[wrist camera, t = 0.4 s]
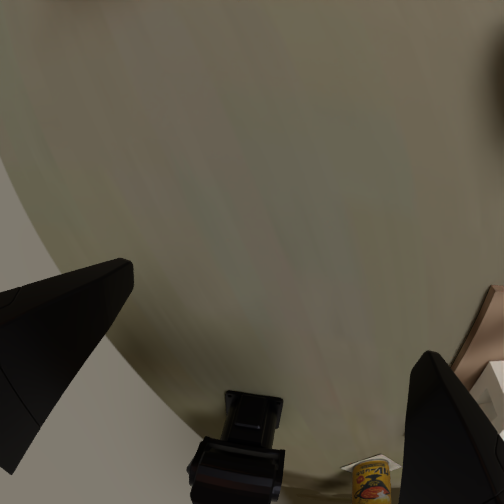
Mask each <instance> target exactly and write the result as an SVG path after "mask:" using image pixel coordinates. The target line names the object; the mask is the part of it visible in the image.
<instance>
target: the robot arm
mask: <svg viewBox="0 0 504 504" xmlns="http://www.w3.org/2000/svg"><path fill="white" fill-rule="evenodd" d="M133 287H134V272H133V263H132V262H131V261H129V260H126V259H123V258H117V259H114V260H110V261H106V262H103V263H99V264H96V265H92V266H89V267H85V268H82V269H78V270H75V271H71V272H68V273H64V274H61V275H57V276H54V277H51V278H47V279H44V280H41V281H37V282H34V283H31V284H27V285H24V286H22V287H17V288H14V289H11V290H7V291H4V292H1V293H0V467H1V468H3V469H4V470H5V471H6V472H8V473H9V474H10V475H12V474H13V473H14V471H15V470H16V468H17V466H18V464H19V463H20V461H21V459H22V458H23V456H24V454H25V453H26V451H27V449H28V448H29V446H30V444H31V443H32V441H33V440H34V438H35V436H36V435H37V433H38V432H39V430H40V428H41V426H42V425H43V423H44V422H45V420H46V419H47V417H48V416H49V414H50V412H51V411H52V409H53V408H54V406H55V405H56V403H57V402H58V400H59V399H60V397H61V396H62V394H63V393H64V391H65V390H66V389H67V387H68V386H69V384H70V383H71V381H72V380H73V378H74V377H75V375H76V374H77V373H78V371H79V370H80V368H81V367H82V365H83V364H84V362H85V361H86V360H87V358H88V357H89V356H90V354H91V353H92V351H93V350H94V349H95V347H96V346H97V345H98V343H99V342H100V341H101V339H102V338H103V336H104V335H105V334H106V332H107V331H108V330H109V328H110V327H111V325H112V323H113V322H114V320H115V318H116V317H117V315H118V313H119V312H120V310H121V308H122V307H123V305H124V303H125V302H126V300H127V298H128V297H129V295H130V294H131V292H132V290H133ZM225 397H226V413H227V418H226V421H225V425H224V428H223V432H222V435H221V438H220V440H218V439H213V438H210V437H208V436H205V438H204V440H203V441H202V442H200V444H199V447H198V450H197V452H196V454H195V456H194V458H193V459H192V461H191V462H190V464H189V465H188V467H187V472H188V474H189V484H190V486H192V489H191V493H190V497H191V500H192V503H193V504H270V503H271V501H273V502H277V500H278V497H279V493H280V489H281V484H282V477H283V468H284V458H285V450H282V449H280V450H276V449H272V445H273V439H274V433H275V429H277V428H278V427H279V422H280V417H281V412H282V407H283V399H281V398H275V397H267V396H260V395H253V394H246V393H240V392H234V391H227V392H226V395H225ZM398 504H504V441H503V439H502V437H501V436H500V434H498V432H497V430H496V429H495V427H494V426H493V424H492V423H491V422H490V420H489V419H488V417H487V416H486V414H485V413H484V412H483V410H482V409H481V408H480V406H479V405H478V403H477V402H476V401H475V399H474V398H473V397H472V395H471V394H470V393H469V391H468V390H467V389H466V387H465V386H464V385H463V383H462V382H461V381H460V379H459V378H458V377H457V376H456V374H455V373H454V372H453V370H452V369H451V368H450V367H449V365H448V364H447V363H446V362H445V360H444V359H443V358H442V357H441V355H440V354H439V353H437V352H433V351H429V350H428V351H426V352H424V353H423V355H422V356H421V358H420V359H419V360H418V362H417V363H416V364H415V366H414V367H413V369H412V371H411V374H410V383H409V393H408V402H407V410H406V421H405V442H404V457H403V469H402V479H401V488H400V497H399V503H398Z"/></svg>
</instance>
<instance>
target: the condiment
mask: <svg viewBox="0 0 504 504" xmlns="http://www.w3.org/2000/svg"><path fill="white" fill-rule="evenodd" d="M400 467H402V466H400V465H398V464H396V463H395V462H393V461H392V460H391V459H389V458H387V457H385V456H384V455H382V454H380V455H378V456H375V457H372V458H368V459H365V460H362V461H359V462H356V463H353V464H351V465H349V466H345V467H342V469H344V470H347V471H349V472H351V473H352V504H391V483H390V471H392V470H394V469H397V468H400Z"/></svg>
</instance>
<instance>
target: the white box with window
mask: <svg viewBox="0 0 504 504" xmlns="http://www.w3.org/2000/svg"><path fill="white" fill-rule="evenodd" d="M469 393H470V394H471V395H472V397H473V398H474V399H475V401H476V402H477V403H478V405H479V406H480V408H481V409H482V410H483V412H484V413H485V414H486V416H487V417H488V419H489V420H490V422H491V423H492V424H493V426H494V427H495V429H496V430H497V432H498V434H500V436H501V437H502V439H503V441H504V361H489V363H488V365H487V366H486V368H485V369H484V371H483V373H482V374H481V376H480V377H479V379H478V380H477V382H476V383H475V384H474V386H473V387H472V389H471V390H470V392H469Z"/></svg>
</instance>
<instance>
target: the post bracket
mask: <svg viewBox="0 0 504 504" xmlns="http://www.w3.org/2000/svg"><path fill="white" fill-rule="evenodd" d="M489 361H504V286H498V285H491V287H490V289H489V292H488V294H487V296H486V299H485V301H484V303H483V306H482V308H481V310H480V312H479V314H478V317H477V319H476V321H475V323H474V325H473V327H472V329H471V331H470V333H469V335H468V337H467V339H466V341H465V343H464V345H463V347H462V348H461V350H460V352H459V354H458V356H457V357H456V359H455V361H454V363H453V364H452V366H451V369H452V370H453V372H454V373H455V374H456V376H457V377H458V378H459V379H460V381H461V382H462V383H463V385H464V386H465V387H466V389H467V390H468V391H469V392H470V390H471V389H472V387H473V386H474V384H475V383H476V382H477V380H478V379H479V377H480V376H481V374H482V373H483V371H484V369H485V368H486V366H487V365H488V363H489Z"/></svg>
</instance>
